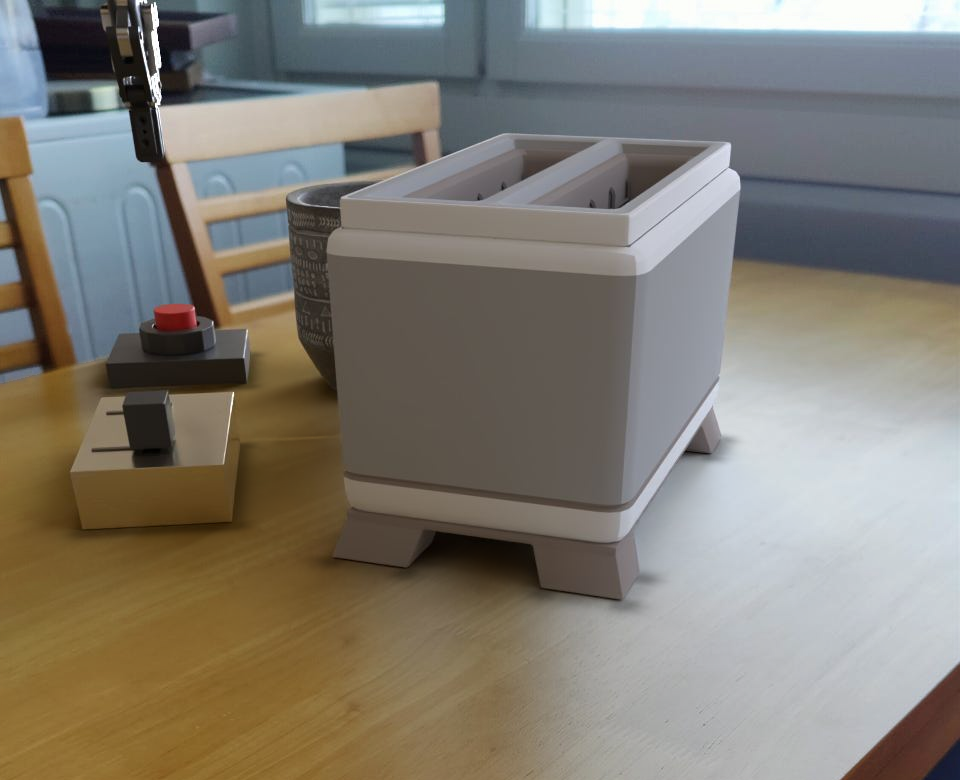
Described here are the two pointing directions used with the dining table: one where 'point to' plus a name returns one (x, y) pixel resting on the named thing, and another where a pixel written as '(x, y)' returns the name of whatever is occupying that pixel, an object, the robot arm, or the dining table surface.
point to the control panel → (159, 467)
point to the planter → (315, 266)
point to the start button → (175, 317)
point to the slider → (149, 419)
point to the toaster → (530, 345)
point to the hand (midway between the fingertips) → (151, 159)
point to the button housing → (179, 357)
